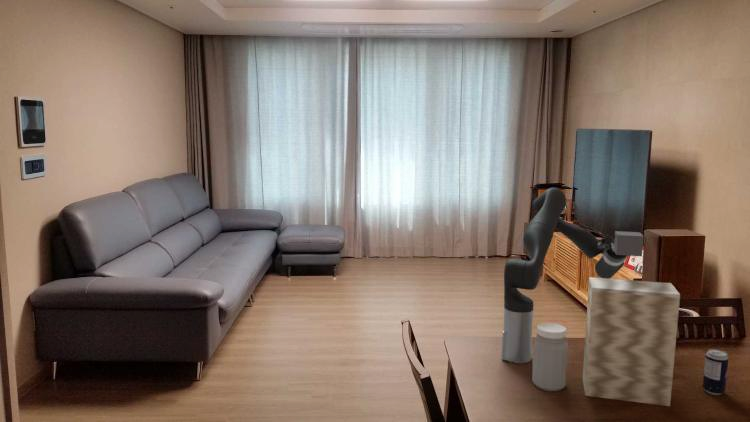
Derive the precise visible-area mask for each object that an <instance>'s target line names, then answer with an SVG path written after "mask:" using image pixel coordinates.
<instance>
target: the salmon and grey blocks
mask: <svg viewBox="0 0 750 422" xmlns="http://www.w3.org/2000/svg"><path fill="white" fill-rule="evenodd" d="M614 235H615V241H614V252H615V253H616V255H627V257H628V256H630V257H643V248H644V235H643V233H641V232H637V231H617V230H615V231H614Z"/></svg>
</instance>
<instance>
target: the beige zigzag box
mask: <svg viewBox="0 0 750 422" xmlns="http://www.w3.org/2000/svg"><path fill="white" fill-rule="evenodd" d="M587 290H588V292H587V306H586V309H587V310H586V321H585V322H586V323H585V334H584V353H583V368H582V369H583V370H582V383H583V384H582V385H583V389H584V390H583V391H584V396H585V397H586V396H587V397H594V398H602V399H609V400H618V401H625V402H635V403H641V404H648V405H656V406H657V405H658V406H665V407H671V399H672V387H673V378H674V377H673V376H674V368H675V367H674V366H675V358H676V357H675V354H676V345H677V334H678V333H677V332H678V323H679V313H680V312H679V311H680V300H681V294H680V292H679V291H678V290H677V289H676V287H675V286H674V285H673V284H672V282H660V281H645V280H631V279H619V278H618V279H617V278H610V279H606V278H601V277H593V276H592V277H590V276H589V277H588V288H587Z"/></svg>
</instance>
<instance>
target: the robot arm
mask: <svg viewBox="0 0 750 422" xmlns="http://www.w3.org/2000/svg"><path fill="white" fill-rule="evenodd" d="M566 206H567V198H566V195H565V193H564V192H563V190H561V189H560V188H558V187H550V188H547V189H546V190H544V192H542V193H541V194H540V195H539V196H537V197H536V198H535V199H534V200H533V202H532V207H533V211H534V212H535V213H536V214H535V215H534V217H533V218H532V219H531V220H530V221H529V223H528V225H527V227H526V228H525V232H524V234H523V238H522V242H523V245H524V247H525V249H526V251H527V252H528V254H529V255H530V258H531V260H525V259H524V260H523V259H517V258H510V259H508V260H507V261H506V263H505V265H504V270H503V285H504V286H503V287H504V288H503V289H504V291H503V292H504V293H503V302H504V304H503V305H504V306H503V326H502V327H503V328H502V339H501V340H502V341H501V342H502V344H501V345H502V346H501V360H502V361H506V360H507V362H508V361H509V362H508V363H512V362H514V363H513V364H527V363H529V362H531V360H532V344H533V343H532V342H533V319H534V300H532V299H531V298H530V297H529V296H527V295H525V294H523V293H522V292H520V291H519V290H518V289H521V290H526V291H527V290H529V291H531V290H535V289H536V288H537V287H538V285H539V281H540V279H541V275H542V271H543V267H544V263H545V259H546V256H547V253H548V250H549V248H550V245H551V243H552V239H553V238H554V234H555V231H558V232H560V233H561V234H562V235H564V236H565V237H566V238H567V239H569V240H570V241H571V242H572V243H573V244H574V245H575V246H576V247H577V248H578V249H579V250H580V251H581V252H582V253H583V254H584V255H585V256H586V257H587V258H589V259H594V258H595V257H597V256H599V255H601V254H602V256H601V257H600V259H599V260H598V261H597V262H596V264H595V266H594V271H595V273H596V275H597V276H598V277H599V278H606V279H612V278H613V277H614V276H615V274H616V273H618V272H619V271H620V270H621V269H622V268H623V267H624V265H625V261H626V260H627V258H628V256H627V255H616V253H615V252H614V241H615V234H612V235H611V237H609V236H604V237H602V238H601V239H600V240H599V239H597V238H596V237H595V235H594V234H592V232H590V231H589V230H588V229H586V228H584V227H581V226H578V225H576V224H573V223H570V222H568V221H566V220H564V219H563V218H561V215H562V213H563V211H564V210H565V208H566Z"/></svg>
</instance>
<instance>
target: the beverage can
mask: <svg viewBox="0 0 750 422" xmlns="http://www.w3.org/2000/svg"><path fill="white" fill-rule="evenodd" d="M729 361H730V360H729V356H728V353H727V352H726V351H723V350H721V349H715V348H712V349H711V348H710V349H708V350H707V351H706V353H705V358H704V366H703V368H704V369H703V378H702V385H701V386H702V388H703V389H704V391H705V392H706V393H708V394H710V395H715V396H720V395H722V394H724V393H725V392H726V387H727V386H726V385H727V375H728V370H729V369H728V366H729Z"/></svg>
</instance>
